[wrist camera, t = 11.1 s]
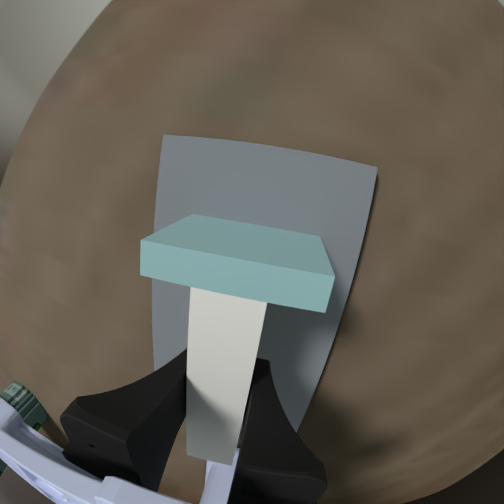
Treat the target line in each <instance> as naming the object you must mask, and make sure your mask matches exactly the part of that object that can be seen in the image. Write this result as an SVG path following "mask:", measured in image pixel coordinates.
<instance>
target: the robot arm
mask: <svg viewBox="0 0 504 504" xmlns="http://www.w3.org/2000/svg"><path fill="white" fill-rule="evenodd" d="M186 383H187V348H186V349H185V350H184V351H182V352H181V353H180V354H179V355H177V356H176V357H175V358H174V359H172V360H171V361H169V362H168V363H167V364H165V365H164V366H162V367H161V368H159V369H158V370H156V371H154V372H153V373H151V374H150V375H148V376H146V377H144V378H142V379H140V380H138V381H136V382H134V383H131V384H129V385H126V386H124V387H121V388H118V389H115V390H112V391H108V392H104V393H99V394H94V395H88V396H80V397H77V398H76V399H75V400H74V401H73V402H72V403H71V404H70V405H69V406H68V407H67V409H66V410H65V411H64V412H63V413H62V415H61V416H60V422H61V424H62V427H63V429H64V431H65V433H66V435H67V437H68V438H69V440H70V442H69V443H68V445H67V446H66V447H65V449H63V448H61V447H59V446H58V445H56V444H55V443H53V442H52V441H50V440H49V439H47V438H46V437H44V436H43V435H41V434H40V433H38V432H37V431H35V430H34V429H33V428H31V427H30V426H29V425H27V424H26V423H25V422H23V419H22V417H21V415H20V414H19V413H18V411H17V410H16V409H15V408H14V407H12V406H11V405H10V404H9V403H7V402H6V401H5V400H4V399H2V398H1V399H0V458H1V459H2V460H3V461H4V462H5V463H6V464H7V465H8V466H10V467H11V468H12V469H13V470H14V471H15V472H16V473H18V474H19V475H20V476H21V477H22V478H24V479H25V480H26V481H27V482H28V483H30V484H31V485H32V486H33V487H35V488H36V489H37V490H38V491H40V492H41V493H43V494H44V495H45V496H46V497H48V498H49V499H51V500H52V501H53V502H55V503H56V504H191V503H188V502H185V501H182V500H179V499H175V498H172V497H169V496H166V495H163V494H160V493H157V491H158V488H159V484H160V481H161V478H162V475H163V472H164V469H165V466H166V463H167V460H168V457H169V454H170V451H171V449H172V446H173V443H174V441H175V438H176V435H177V433H178V431H179V429H180V426H181V425H182V423H183V421H184V419H185V417H186ZM326 489H327V479H326V474H325V470H324V466H323V464H322V463H321V462H320V461H319V460H318V459H317V458H316V457H315V456H314V455H313V453H312V452H311V451H310V450H309V449H308V448H307V447H306V445H305V444H304V443H303V441H302V440H301V439H300V437H299V436H298V434H297V433H296V432H295V430H294V429H293V427H292V425H291V424H290V422H289V420H288V418H287V416H286V414H285V412H284V410H283V408H282V406H281V403H280V401H279V398H278V395H277V392H276V389H275V386H274V383H273V379H272V374H271V368H270V361H269V360H266V359H260V358H256V361H255V366H254V370H253V375H252V380H251V384H250V389H249V394H248V398H247V403H246V407H245V412H244V419H243V427H242V436H241V444H240V448H236V452H235V456H234V460H233V464H232V466H230V465H225V464H221V463H216V462H212V461H208V460H207V467H206V479H205V488H204V491H203V494H202V497H201V501H200V504H316V501H317V500H318V499H319V498H320V497H321V496H322V495H323V494H324V493H325V491H326Z"/></svg>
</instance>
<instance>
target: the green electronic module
mask: <svg viewBox="0 0 504 504" xmlns="http://www.w3.org/2000/svg"><path fill="white" fill-rule="evenodd" d="M1 398H2V399H4V400H5V401H6V402H7V403H9V404H10V405H11V406H12V407H14V408H15V409H16V410H17V411H18V413H19V414H20V415H21V417H22V419H23V422H25V423H26V424H27V425H29V426H30V427H31V428H33V429H34V430H35V431H38V429H39V428H40V427H41V426H42V425H43V423H44V422H45V421H46V420H47V418H48V417H47V416H46V415H47V414H46V412H45V410H44V409H43V407H42V405H41V404H40V403H39V402H38V401H37V399H36V398H35V397H34V396H33V395H32V393H30V392H29V390H28V389H26V388H25V387H24V386H23V385H22V384H20V383H18V382H16V381H15V382H13V383H12V384H11V385H10V386H9V387H8V388H7V389H5V390H4V391H3V392H2V393H1V394H0V399H1ZM7 467H8V465H7V464H6V463H5V462H4V461H3V460H2V459H1V458H0V476H1V475H2V473H3V472H4V471H5V469H6V468H7Z"/></svg>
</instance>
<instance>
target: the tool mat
mask: <svg viewBox="0 0 504 504" xmlns="http://www.w3.org/2000/svg"><path fill="white" fill-rule="evenodd" d="M377 169H378V168H377V167H373V166H369V165H365V164H361V163H357V162H353V161H349V160H344V159H340V158H335V157H330V156H326V155H321V154H316V153H311V152H305V151H300V150H294V149H288V148H282V147H276V146H270V145H263V144H256V143H249V142H241V141H232V140H223V139H213V138H202V137H190V136H175V135H163V141H162V149H161V156H160V165H159V174H158V183H157V194H156V206H155V219H154V233H155V232H157V231H159V230H161V229H163V228H165V227H167V226H169V225H171V224H173V223H175V222H177V221H179V220H181V219H183V218H185V217H187V216H189V215H191V214H195V215H201V216H208V217H214V218H220V219H226V220H232V221H237V222H243V223H249V224H255V225H260V226H266V227H272V228H277V229H283V230H288V231H293V232H299V233H304V234H309V235H315V236H320V237H321V240H322V243H323V245H324V248H325V251H326V253H327V256H328V259H329V261H330V264H331V267H332V269H333V272H334V275H335V279H334V283H333V287H332V290H331V294H330V298H329V301H328V305H327V308H326V312H325V313H323V312H317V311H311V310H305V309H300V308H294V307H288V306H283V305H277V304H272V303H267V308H266V313H265V318H264V323H263V328H262V333H261V338H260V343H259V348H258V353H257V357H256V358H260V359H266V360H269V361H270V368H271V374H272V379H273V383H274V386H275V389H276V392H277V395H278V398H279V401H280V403H281V406H282V408H283V410H284V412H285V414H286V416H287V418H288V420H289V422H290V424H291V425H292V427H293V429H294V430H295V432H296V433H297V431H298V428H299V426H300V424H301V422H302V420H303V417H304V415H305V413H306V410H307V408H308V406H309V403H310V401H311V398H312V396H313V394H314V391H315V389H316V386H317V384H318V381H319V379H320V376H321V373H322V371H323V368H324V365H325V363H326V360H327V357H328V355H329V352H330V349H331V346H332V343H333V340H334V337H335V334H336V332H337V329H338V326H339V322H340V319H341V316H342V313H343V310H344V307H345V303H346V300H347V297H348V293H349V290H350V287H351V283H352V280H353V276H354V272H355V269H356V265H357V261H358V257H359V253H360V250H361V245H362V241H363V237H364V233H365V229H366V224H367V220H368V215H369V211H370V206H371V201H372V196H373V191H374V186H375V180H376V174H377ZM190 290H191V287H189V286H185V285H180V284H176V283H171V282H167V281H163V280H159V279H155V278H152V333H153V356H154V371H156V370H158V369H159V368H161V367H162V366H164V365H165V364H167V363H168V362H169V361H171V360H172V359H174V358H175V357H176V356H177V355H179V354H180V353H181V352H182V351H184V350H185V349H186V348H187V347H188V324H189V306H190ZM243 419H244V417H243ZM242 427H243V422H242V426H241V430H240V431H242Z"/></svg>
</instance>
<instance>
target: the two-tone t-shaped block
mask: <svg viewBox="0 0 504 504" xmlns="http://www.w3.org/2000/svg"><path fill="white" fill-rule="evenodd" d="M140 275H142V276H146V277H150V278H155V279H159V280H163V281H167V282H171V283H176V284H180V285H185V286H189V287H191V290H190V306H189V324H188V347H187V383H186V439H187V455H189V456H193V457H196V458H200V459H204V460H208V461H212V462H216V463H221V464H225V465H230V466H232V464H233V460H234V456H235V452H236V447H237V443H238V439H239V435H240V430H241V426H242V422H243V417H244V412H245V407H246V403H247V398H248V394H249V389H250V384H251V380H252V375H253V370H254V366H255V361H256V357H257V353H258V348H259V343H260V338H261V333H262V328H263V323H264V318H265V313H266V308H267V303H272V304H277V305H283V306H288V307H294V308H300V309H305V310H311V311H317V312H323V313H325V312H326V308H327V305H328V301H329V298H330V294H331V290H332V287H333V283H334V279H335V275H334V272H333V269H332V267H331V264H330V261H329V259H328V256H327V253H326V251H325V248H324V245H323V243H322V240H321V237H320V236H315V235H309V234H304V233H299V232H293V231H288V230H283V229H277V228H272V227H266V226H260V225H255V224H249V223H243V222H237V221H232V220H226V219H220V218H214V217H208V216H201V215H195V214H191V215H189V216H187V217H185V218H183V219H181V220H179V221H177V222H175V223H173V224H171V225H169V226H167V227H165V228H163V229H161V230H159V231H157V232H155V233H153V234H152V235H150V236H148V237H146V238H144V239H142V240H141V255H140Z"/></svg>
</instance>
